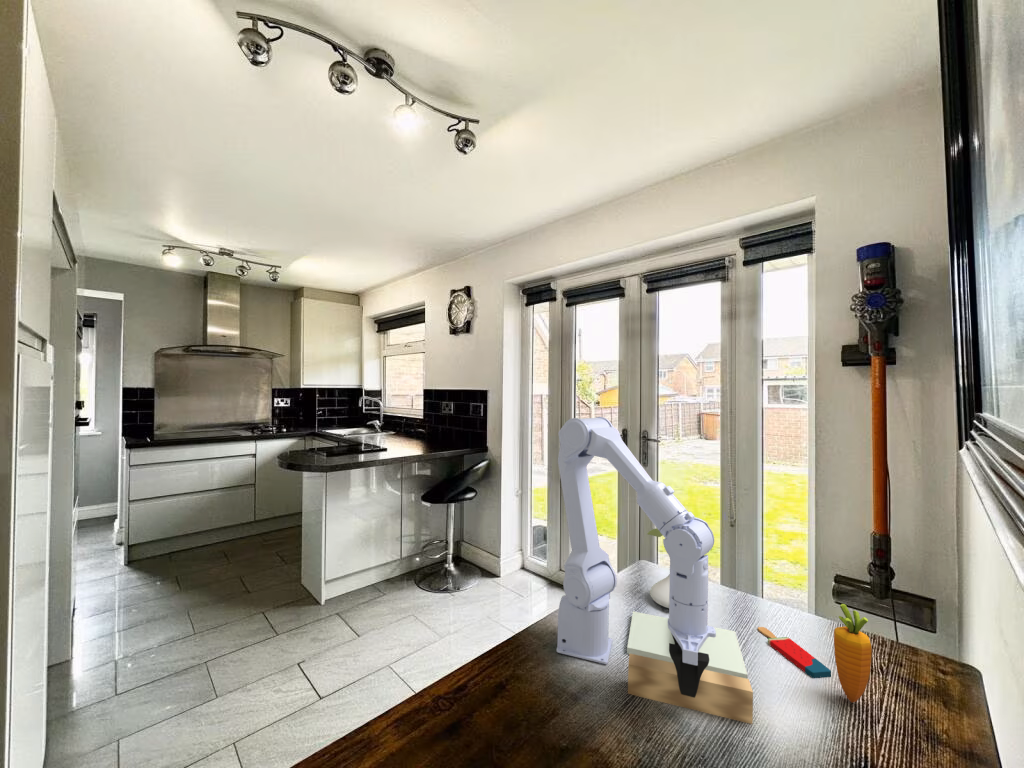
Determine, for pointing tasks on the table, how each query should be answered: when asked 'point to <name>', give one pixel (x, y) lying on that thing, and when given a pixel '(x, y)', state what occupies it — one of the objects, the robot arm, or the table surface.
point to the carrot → (852, 655)
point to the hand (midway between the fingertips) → (687, 683)
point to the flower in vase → (660, 582)
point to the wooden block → (712, 695)
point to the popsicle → (796, 655)
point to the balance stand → (654, 640)
